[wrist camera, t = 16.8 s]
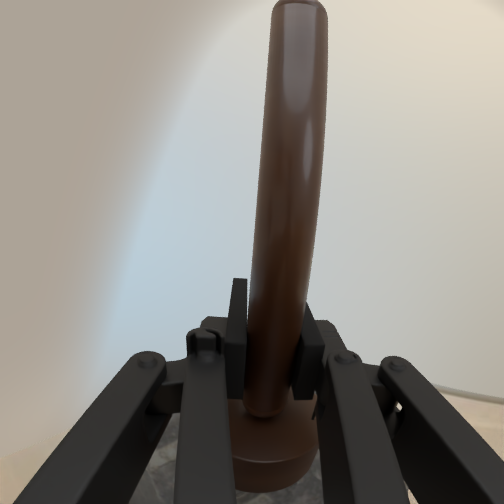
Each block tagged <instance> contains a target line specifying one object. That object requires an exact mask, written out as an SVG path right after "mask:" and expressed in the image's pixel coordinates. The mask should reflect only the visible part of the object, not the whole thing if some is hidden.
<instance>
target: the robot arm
mask: <svg viewBox="0 0 504 504" xmlns="http://www.w3.org/2000/svg"><path fill="white" fill-rule="evenodd" d="M186 343H187V357H186V358H185V359H182V360H177V361H169V362H166V361H165V358H164V357H163V356H162V355H161V354H159V353H156V352H151V351H144V352H139V353H137V354H135V355H133V356H132V357H131V358H130V359H129V360H128V361H127V363H126V364H125V365H124V366H123V367H122V368H121V370H120V371H119V372H118V373H117V374H116V375H115V377H114V378H113V379H112V380H111V381H110V383H109V384H108V385H107V386H106V387H105V389H104V390H103V391H102V392H101V393H100V395H99V396H98V397H97V398H96V399H95V401H94V402H93V403H92V404H91V406H90V407H89V408H88V409H87V410H86V411H85V413H84V414H83V415H82V417H81V418H80V419H79V420H78V421H77V422H76V424H75V425H74V426H73V427H72V429H71V430H70V431H69V432H68V434H67V435H66V436H65V437H64V439H63V440H62V441H61V442H60V444H59V445H58V446H57V447H56V449H55V450H54V451H53V452H52V454H51V455H50V456H49V457H48V459H47V460H46V461H45V462H44V464H43V465H42V466H41V468H40V469H39V470H38V471H37V473H36V474H35V475H34V477H33V478H32V479H31V480H30V482H29V483H28V484H27V486H26V487H25V488H24V490H23V491H22V492H21V494H20V495H19V496H18V497H17V499H16V500H15V501H14V503H13V504H128V503H129V501H130V499H131V497H132V495H133V493H134V491H135V489H136V487H137V485H138V483H139V481H140V479H141V477H142V475H143V473H144V471H145V469H146V467H147V465H148V463H149V461H150V459H151V457H152V455H153V453H154V451H155V449H156V447H157V445H158V443H159V441H160V439H161V437H162V435H163V433H164V431H165V429H166V427H167V425H168V423H169V421H170V419H171V417H172V414H173V413H180V421H179V431H178V442H177V454H176V467H175V481H174V498H173V504H237V500H236V491H235V481H234V472H233V462H232V451H231V440H230V428H229V416H228V403H227V399H238V400H243V393H244V377H245V362H246V347H247V279H241V278H234V279H233V285H232V292H231V299H230V306H229V313H228V318H226V317H212V316H211V317H210V316H208V317H206V318H205V319H204V320H203V321H202V322H201V325H200V328H196V329H193V330H191V331H189V332H188V334H187V336H186ZM291 387H292V392H293V398H294V400H313V396H314V392H315V391H316V395H317V400H316V404H315V407H314V411H313V414H312V419H311V420H314V418H315V416H316V422H317V432H318V442H319V452H320V463H321V475H322V488H323V502H324V504H410V501H409V498H408V494H407V490H406V487H405V484H404V481H405V483H406V484H407V486H408V488H409V489H410V491H411V492H412V494H413V496H414V497H415V499H416V500H417V502H418V504H504V461H503V460H502V459H501V458H500V457H499V456H498V455H497V454H496V452H495V451H494V450H493V449H492V448H491V447H490V446H489V445H488V444H487V442H486V441H485V440H484V439H483V438H482V437H481V436H480V435H479V434H478V433H477V432H476V431H475V429H474V428H473V427H472V426H471V425H470V424H469V423H468V422H467V421H466V420H465V419H464V418H463V417H462V416H461V415H460V413H459V412H458V411H457V410H456V409H455V408H454V407H453V406H452V405H451V404H450V403H449V402H448V401H447V400H446V399H445V398H444V397H443V396H442V395H441V394H440V393H439V392H438V391H437V390H436V389H435V388H434V386H433V385H432V384H431V383H430V382H429V381H428V380H427V379H426V378H425V377H424V376H423V375H422V374H421V373H420V372H419V371H418V370H417V369H416V368H415V367H414V366H413V365H412V364H411V363H410V362H408V361H407V360H406V359H403V358H401V357H397V356H388V357H385V358H384V359H383V360H382V361H381V364H380V366H377V365H369V364H365V363H362V360H361V358H360V357H359V356H358V355H357V354H355V353H354V352H352V351H349V350H347V348H346V347H345V345H344V343H343V341H342V339H341V337H340V335H339V333H338V332H337V330H336V328H335V326H334V325H333V324H332V323H330V322H329V321H327V320H314V318H313V315H312V313H311V311H310V309H309V306H308V304H307V302H306V305H305V311H304V317H303V323H302V329H301V335H300V341H299V346H298V352H297V357H296V362H295V367H294V372H293V377H292V382H291ZM398 402H399V404H400V405H401V406H402V409H401V411H400V410H399V409H398V408H397V407H396V406H397V404H398Z"/></svg>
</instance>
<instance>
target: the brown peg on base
mask: <svg viewBox="0 0 504 504" xmlns="http://www.w3.org/2000/svg"><path fill="white" fill-rule="evenodd" d="M327 70H328V17H327V13H326V10H325V8H324V7H323V5H322V4H321V3H320V2H319V1H318V0H279V1H278V2H277V3H276V4H275V6H274V8H273V11H272V17H271V29H270V42H269V55H268V67H267V81H266V93H265V106H264V118H263V131H262V144H261V156H260V157H261V158H260V169H259V181H258V194H257V207H256V219H255V220H256V221H255V233H254V244H253V257H252V269H251V282H250V295H249V306H248V319H247V347H246V362H245V377H244V393H243V400H238V399H227V403H228V416H229V428H230V440H231V451H232V462H233V472H234V481H235V489H236V490H239V491H243V492H249V493H268V492H274V491H278V490H282V489H284V488H287V487H289V486H291V485H293V484H295V483H296V482H298V481H299V480H300V479H301V478H303V477H304V475H305V474H306V473H307V472H308V470H309V469H310V467H311V465H312V463H313V461H314V458H315V456H316V454H317V451H318V449H319V442H318V432H317V422H316V416H315V418H314V420H311V419H312V414H313V411H314V407H315V404H316V400H317V395H316V394H315V393H314V396H313V400H294V398H293V392H292V387H291V382H292V377H293V372H294V367H295V362H296V357H297V352H298V346H299V341H300V335H301V329H302V323H303V317H304V311H305V305H306V299H307V292H308V286H309V279H310V271H311V264H312V257H313V249H314V242H315V233H316V225H317V216H318V207H319V197H320V187H321V176H322V164H323V151H324V137H325V121H326V100H327Z"/></svg>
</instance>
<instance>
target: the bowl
mask: <svg viewBox="0 0 504 504" xmlns="http://www.w3.org/2000/svg"><path fill="white" fill-rule="evenodd" d="M314 393H315V394H316V391H315V392H314ZM179 421H180V413H173V414H172V417H171V419H170V421H169V423H168V425H167V427H166V429H165V431H164V433H163V435H162V437H161V439H160V441H159V443H158V445H157V447H156V449H155V451H154V453H153V455H152V457H151V459H150V461H149V463H148V465H147V467H146V469H145V471H144V473H143V475H142V477H141V479H140V481H139V483H138V485H137V487H136V489H135V491H134V493H133V495H132V497H131V499H130V501H129V503H128V504H173V498H174V481H175V467H176V454H177V442H178V431H179ZM404 484H405V487H406V490H407V494H408V489H409V488H408V486H407V484H406V483H405V481H404ZM235 491H236V500H237V504H324V502H323V488H322V475H321V463H320V452H319V449H318V451H317V454H316V456H315V458H314V461H313V463H312V465H311V467H310V469H309V470H308V472H307V473H306V474H305V475H304V477H303V478H301V479H300V480H299V481H298V482H296V483H295V484H293V485H291V486H289V487H287V488H284V489H282V490H278V491H274V492H268V493H249V492H243V491H239V490H236V489H235Z"/></svg>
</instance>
